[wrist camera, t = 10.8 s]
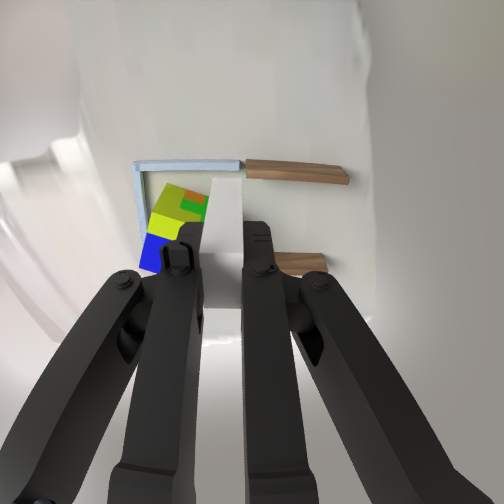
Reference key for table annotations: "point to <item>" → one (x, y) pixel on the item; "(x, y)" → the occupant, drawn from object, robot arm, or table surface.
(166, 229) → the puzzle toy
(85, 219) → the table surface
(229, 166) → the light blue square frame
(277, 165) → the channel
